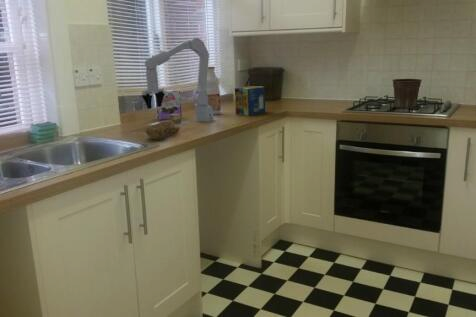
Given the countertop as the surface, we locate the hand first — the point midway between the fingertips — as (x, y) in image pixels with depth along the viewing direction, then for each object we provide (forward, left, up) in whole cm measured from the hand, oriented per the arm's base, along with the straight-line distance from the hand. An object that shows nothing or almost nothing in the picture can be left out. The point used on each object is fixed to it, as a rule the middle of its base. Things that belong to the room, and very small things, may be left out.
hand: (154, 107), depth 236 cm
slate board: (-6, -3, -10) cm, 12 cm away
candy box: (+7, -18, -10) cm, 22 cm away
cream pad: (-1, +1, -9) cm, 9 cm away
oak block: (-8, -6, -9) cm, 13 cm away
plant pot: (-104, -101, -10) cm, 146 cm away
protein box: (-27, -52, -10) cm, 60 cm away
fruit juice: (-5, -44, -10) cm, 46 cm away
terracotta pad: (-1, -7, -9) cm, 12 cm away
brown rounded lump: (-26, +23, -10) cm, 36 cm away
